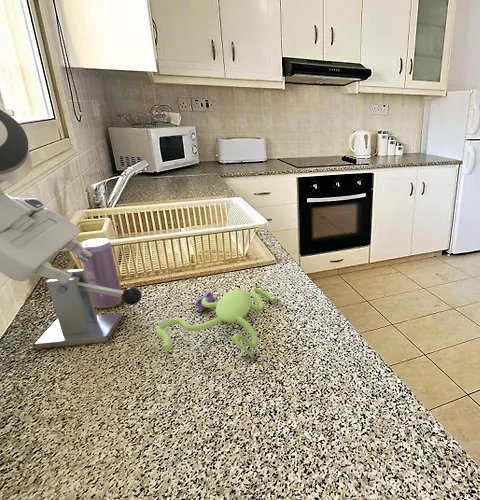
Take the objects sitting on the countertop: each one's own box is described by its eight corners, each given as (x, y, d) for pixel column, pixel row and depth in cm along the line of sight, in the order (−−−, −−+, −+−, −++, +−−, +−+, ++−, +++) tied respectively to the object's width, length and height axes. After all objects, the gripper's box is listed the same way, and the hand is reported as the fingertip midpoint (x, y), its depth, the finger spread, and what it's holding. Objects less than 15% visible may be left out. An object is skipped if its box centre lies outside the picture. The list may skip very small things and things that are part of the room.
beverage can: (129, 299, 88) (116, 239, 83) (106, 311, 83) (91, 248, 78) (110, 294, 90) (96, 236, 85) (87, 306, 85) (70, 244, 79)
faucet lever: (141, 301, 78) (145, 286, 77) (137, 309, 75) (140, 294, 74) (62, 285, 73) (65, 269, 72) (54, 294, 70) (56, 277, 69)
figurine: (147, 365, 67) (141, 338, 65) (206, 294, 91) (203, 273, 89) (249, 369, 66) (246, 343, 64) (281, 297, 91) (280, 276, 89)
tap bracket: (122, 317, 81) (109, 263, 76) (107, 341, 73) (92, 282, 68) (58, 323, 78) (41, 267, 74) (36, 349, 70) (15, 288, 66)
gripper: (-25, 229, 56) (66, 281, 62) (42, 196, 75) (108, 238, 81) (-50, 258, 57) (43, 307, 63) (23, 218, 75) (89, 259, 81)
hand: (80, 268), depth 72 cm, fingers open, 8 cm apart
